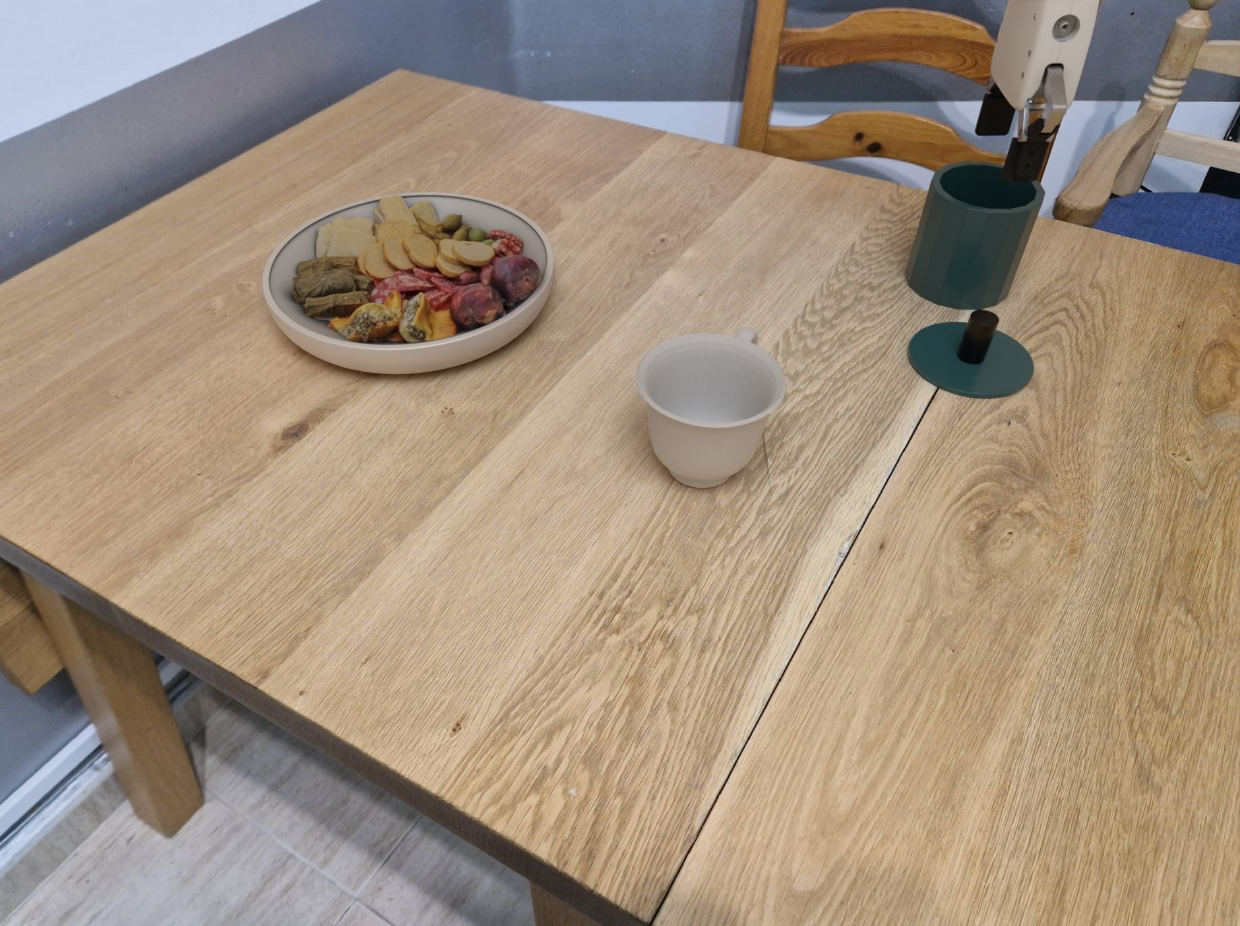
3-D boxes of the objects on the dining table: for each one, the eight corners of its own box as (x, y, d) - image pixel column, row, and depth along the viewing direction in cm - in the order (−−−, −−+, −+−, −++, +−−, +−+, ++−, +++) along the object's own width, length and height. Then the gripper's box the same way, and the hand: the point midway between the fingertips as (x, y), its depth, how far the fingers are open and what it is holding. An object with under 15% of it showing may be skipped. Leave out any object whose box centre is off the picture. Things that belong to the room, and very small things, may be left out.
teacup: (801, 430, 86) (821, 340, 78) (736, 535, 77) (751, 444, 70) (682, 388, 90) (690, 300, 83) (607, 483, 81) (609, 393, 74)
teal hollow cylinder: (992, 260, 105) (1027, 161, 96) (1018, 315, 97) (1058, 213, 89) (896, 258, 105) (922, 160, 97) (915, 313, 98) (945, 212, 90)
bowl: (216, 358, 94) (193, 291, 89) (356, 214, 114) (344, 152, 108) (493, 417, 87) (486, 348, 82) (591, 253, 107) (591, 188, 101)
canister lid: (1011, 331, 95) (1030, 284, 91) (1045, 405, 87) (1067, 356, 83) (895, 329, 96) (909, 281, 92) (919, 402, 88) (935, 353, 84)
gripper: (1149, -9, 72) (1072, 199, 84) (1076, -72, 84) (1018, 118, 96) (1048, -6, 73) (987, 200, 85) (990, -70, 85) (943, 119, 97)
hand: (1003, 156), depth 91 cm, fingers open, 9 cm apart
